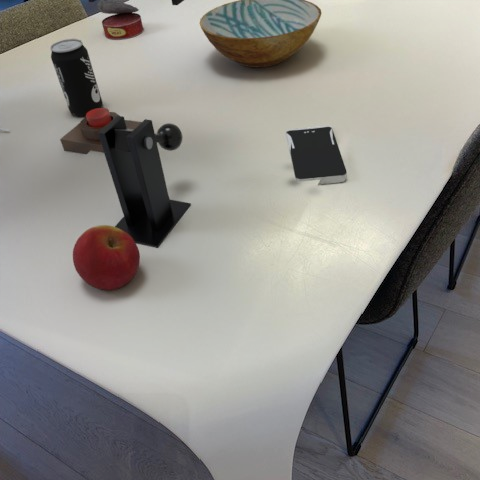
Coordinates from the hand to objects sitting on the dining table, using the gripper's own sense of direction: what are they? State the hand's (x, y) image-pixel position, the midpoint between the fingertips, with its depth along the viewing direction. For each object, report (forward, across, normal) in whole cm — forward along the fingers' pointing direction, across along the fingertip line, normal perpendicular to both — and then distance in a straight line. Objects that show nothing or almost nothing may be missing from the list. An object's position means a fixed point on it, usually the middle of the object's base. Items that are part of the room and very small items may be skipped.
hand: (136, 0), depth 69 cm
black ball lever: (+13, -9, +17) cm, 23 cm away
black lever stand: (+22, -9, +21) cm, 31 cm away
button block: (+22, +11, +2) cm, 25 cm away
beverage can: (+22, +22, -8) cm, 32 cm away
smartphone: (+22, -26, -2) cm, 34 cm away
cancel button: (+18, +11, +2) cm, 21 cm away
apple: (+22, -10, +32) cm, 40 cm away
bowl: (+22, -3, -39) cm, 45 cm away
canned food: (+22, +38, -48) cm, 65 cm away
